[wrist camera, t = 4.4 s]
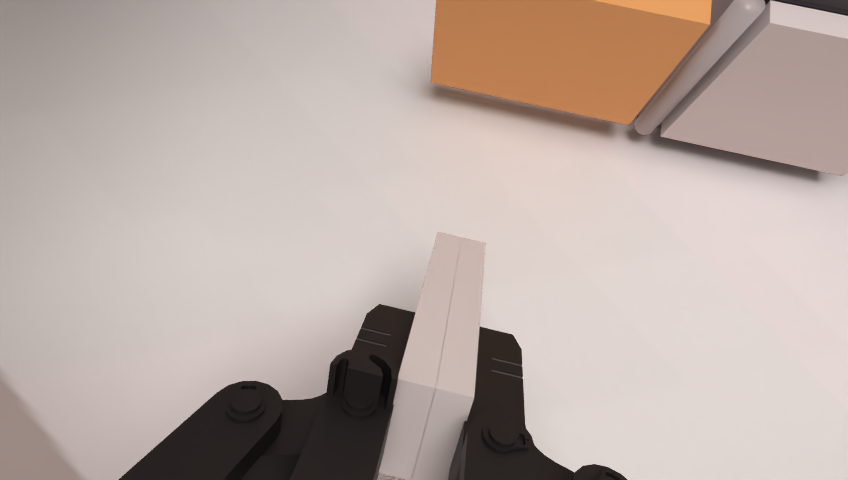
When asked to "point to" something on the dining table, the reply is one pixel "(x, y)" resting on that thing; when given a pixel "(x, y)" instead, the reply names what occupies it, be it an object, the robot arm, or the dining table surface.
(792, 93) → the side door
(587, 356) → the dining table surface
